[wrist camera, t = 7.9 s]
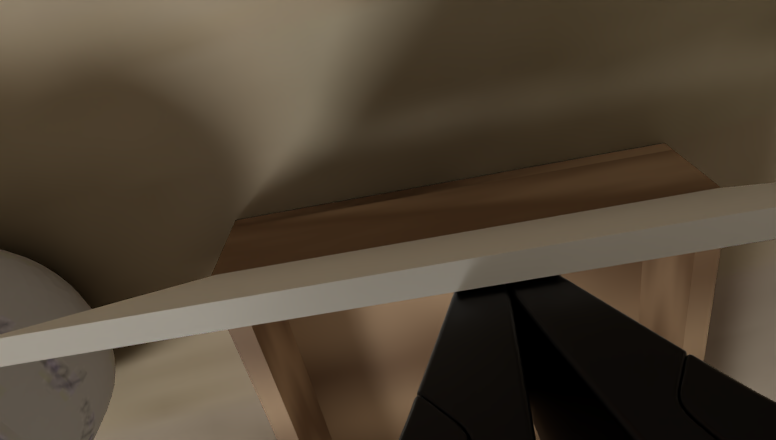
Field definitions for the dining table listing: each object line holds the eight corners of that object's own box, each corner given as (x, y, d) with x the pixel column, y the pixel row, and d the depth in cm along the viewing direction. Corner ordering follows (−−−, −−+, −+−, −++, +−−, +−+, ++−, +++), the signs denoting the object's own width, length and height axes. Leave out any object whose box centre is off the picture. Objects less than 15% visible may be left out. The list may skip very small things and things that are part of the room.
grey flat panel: (1130, 180, 6) (1124, 147, 6) (-30, 372, 8) (-35, 343, 8) (721, 201, 15) (718, 187, 15) (217, 287, 17) (215, 274, 17)
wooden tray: (639, 457, 28) (677, 534, 25) (342, 498, 29) (339, 577, 26) (664, 143, 19) (729, 194, 16) (235, 220, 20) (208, 284, 17)
